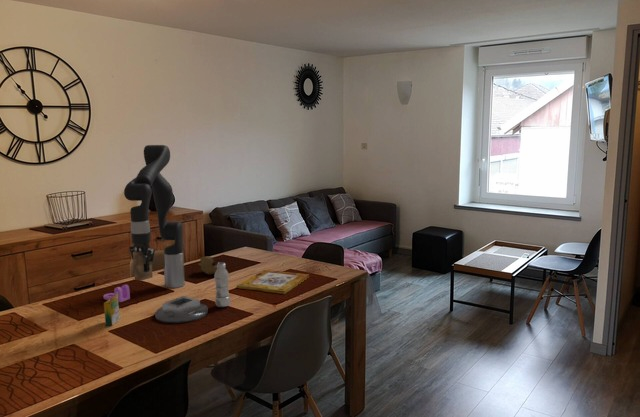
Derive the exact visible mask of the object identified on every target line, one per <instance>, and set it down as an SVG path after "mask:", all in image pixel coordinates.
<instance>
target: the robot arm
mask: <svg viewBox="0 0 640 417" xmlns="http://www.w3.org/2000/svg"><path fill="white" fill-rule="evenodd" d="M143 159H144V162H145V166H144V167H142V168H141V169H140V171H139V172H138V173H137V175H136V177H134V178H132V180H131V181H129V182H128V183H127V184H126V185H125V188H124V190H123V195H124V197H125V199H126V200H127V201H133V202H134V201H136V202H137V201H140V204H139V205H135V206H132V207H131V208H130V209H129V212H130V235H131V243H132V244H133V245H131V246H129V247H128V248H129V253H130V256H131V259H132V260H133V251H139V252H142V258H143V262H144V272H149V270H150V266H149V263H150V262H152V263H153V262H154V258H155V257H154V256H155V250H156V249H155V248H151V246H150V242H151V240H152V239H151V238H152V237H151V225H150V217H149V206H150V202H151V197H152V196H153V201H154V204H155V209H156V215H157V222H158V229H159V237H160V238H161V239H162V241H174V243H173V244H171V245H168V246H166V247H164V248H163V254H164V268H163V272H164V273H163V276H164V286H166V287H167V288H169V289H170V288H173V289H175V288H181V287H184V286H185V285H186V284H185V265H184V264H185V263H184V227H183V226H184V225H183V224H182V222H181V221H168V220H167V215H168V213H169V211H170V209H171V208H172V206H173V203H174V201H175V199H174V198H175V197H174V192H173V188H172V187H173V186H172V185H171V183H170V182H169V181H168V180H167V179H166V178H165V177H164V176H163V174H161V172H162V171H163V170H164V168H165V167H166V166H167V165H168V164H169V163H170V160H171V149H170V148H169V147H168V145H164V144H148V145H145V146H144V148H143ZM147 253H148V255H147ZM144 255H147V256H144ZM146 257H147V260H146Z"/></svg>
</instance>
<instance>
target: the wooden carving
mask: <svg viewBox="0 0 640 417" xmlns="http://www.w3.org/2000/svg"><path fill="white" fill-rule="evenodd" d="M199 259H200V262H199V263H198V266H200V270H201V271H202V272H204V273H205V274H206V275H207V274H208V275H212V274H213V275H215V272H216V271H217V269H218V268H217V264H216V260H215V258H213V257H211V256H209V255H207V256H202V257H200V258H199Z"/></svg>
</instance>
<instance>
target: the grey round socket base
mask: <svg viewBox="0 0 640 417" xmlns="http://www.w3.org/2000/svg"><path fill="white" fill-rule="evenodd" d="M208 312H209V309H208V306H207V305H206V304H204V303H202V302H201V299H199V298H194V297H191V296H190V297H189V296H186V295H181V296H180V297H176V298H174V299H172V300H169V301H166V302H163V303H162V306H161V307H159V308H158V309H157V310H155V312H154V315H155V318H154V319H156V320H157V321H158V322H161V323H165V324H185V323H191V322H194V321H198V320H200V319H202V318H204V317H206V315H208Z"/></svg>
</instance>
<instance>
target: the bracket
mask: <svg viewBox="0 0 640 417" xmlns="http://www.w3.org/2000/svg"><path fill="white" fill-rule="evenodd" d="M117 293H118V303H123V302H125V301H128V300H130V299H131V294H130V286H129V285H128V284H123V285H121V286H117V287H114V292H111V293H110V292H109V293H105V294H103V299H104V300H106V301H108V300H109V299H110V298H112V297H113V296H115V295H116V294H117ZM114 298H116V297H114Z"/></svg>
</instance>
